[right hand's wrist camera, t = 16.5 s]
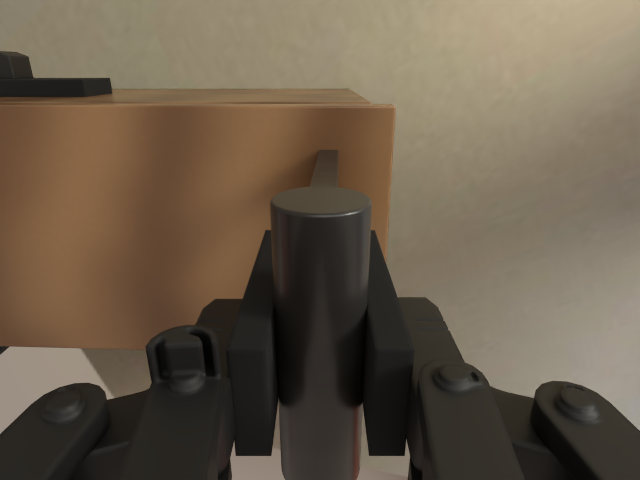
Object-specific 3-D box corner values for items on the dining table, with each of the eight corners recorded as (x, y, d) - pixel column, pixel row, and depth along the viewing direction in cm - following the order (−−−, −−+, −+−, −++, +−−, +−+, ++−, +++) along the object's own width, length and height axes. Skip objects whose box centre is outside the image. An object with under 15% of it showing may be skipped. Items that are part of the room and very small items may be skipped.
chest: (350, 88, 26) (372, 102, 16) (346, 243, 30) (362, 332, 20) (85, 88, 26) (-60, 102, 16) (115, 244, 30) (12, 333, 20)
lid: (392, 104, 15) (449, 143, 7) (378, 343, 19) (405, 540, 11) (-60, 102, 16) (-452, 136, 8) (12, 334, 20) (-208, 514, 12)
